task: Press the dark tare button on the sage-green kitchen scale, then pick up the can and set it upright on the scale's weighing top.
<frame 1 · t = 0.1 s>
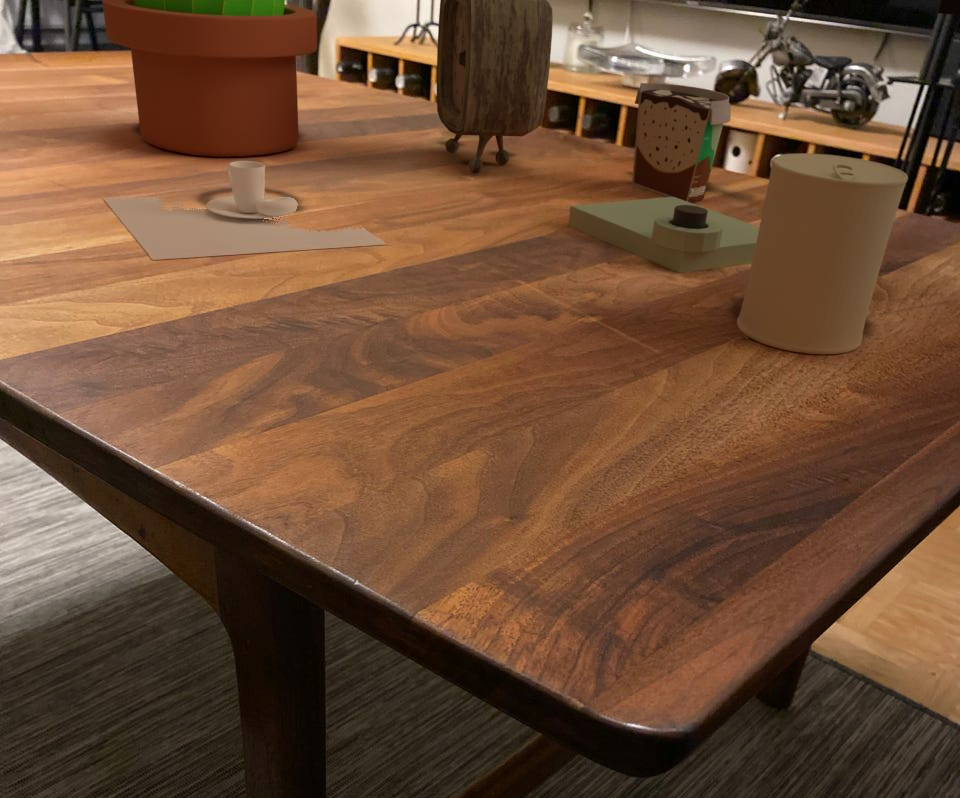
tare button: (689, 218, 88), point 4 cm above the table, slide at 0.1 cm
teacup and saucer: (240, 223, 92), on the table
tabletop clock: (485, 166, 119), on the table
potted cactus: (221, 144, 119), on the table
food container: (679, 194, 114), on the table
can: (797, 335, 77), on the table
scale: (674, 242, 96), on the table
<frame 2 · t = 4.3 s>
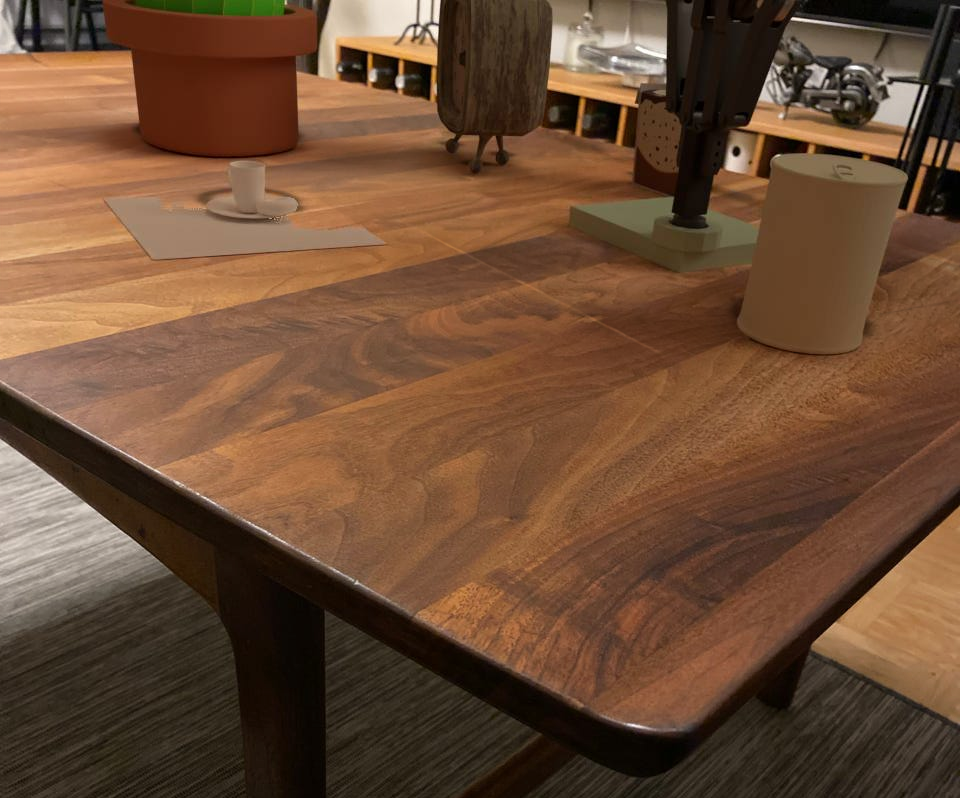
hand: (689, 213, 88), 4 cm above the table, tool pointing down, fingers closed
tare button: (688, 226, 88), point 3 cm above the table, slide at -0.5 cm, touching gripper
everything else where it was.
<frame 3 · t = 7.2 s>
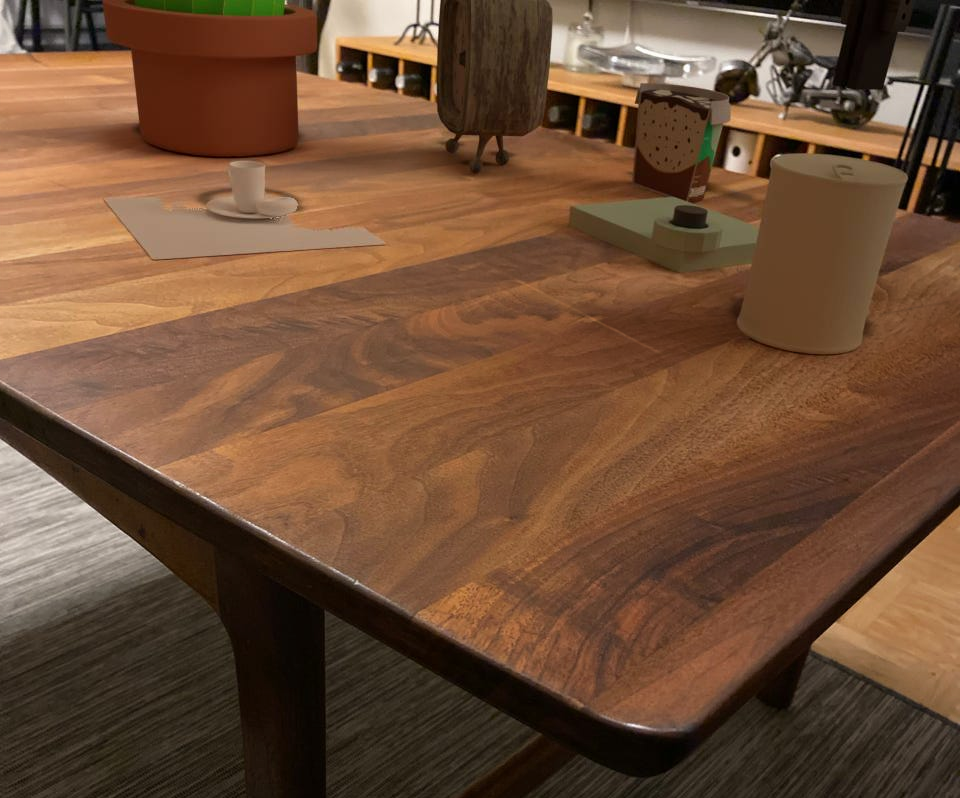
hand: (857, 86, 68), 16 cm above the table, tool pointing down, fingers closed
tare button: (689, 218, 88), point 4 cm above the table, slide at 0.1 cm
everything else where it was.
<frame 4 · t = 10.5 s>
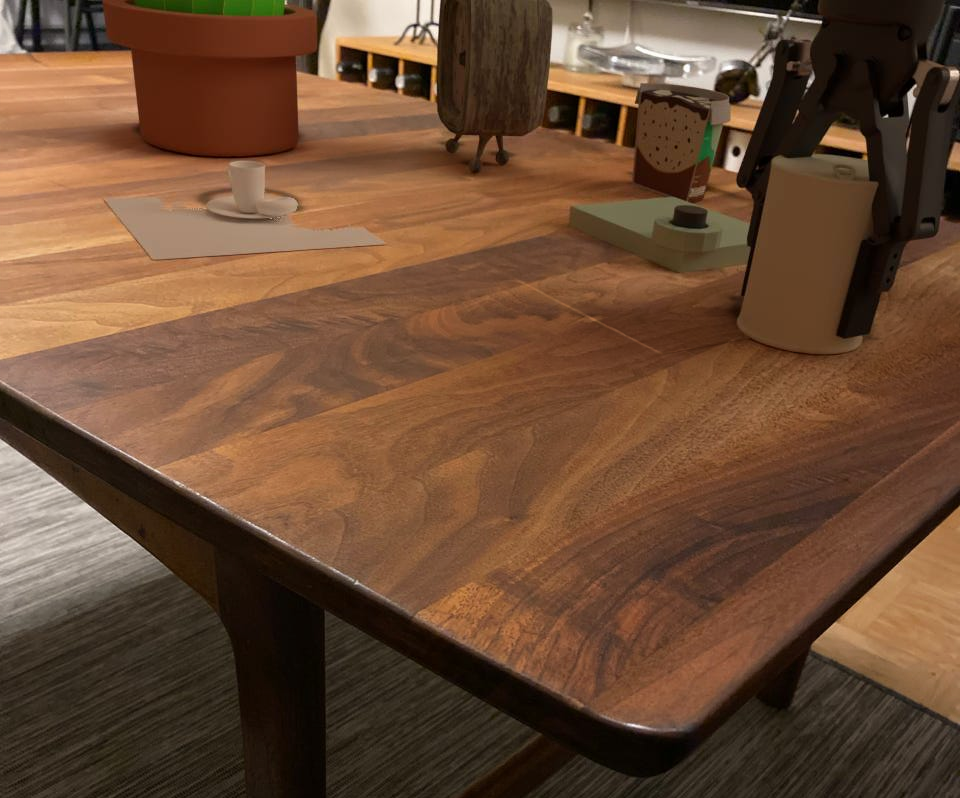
hand: (802, 313, 76), 1 cm above the table, tool pointing down, fingers closed on can, 9 cm apart
can: (797, 335, 77), on the table, touching gripper
everything else where it was.
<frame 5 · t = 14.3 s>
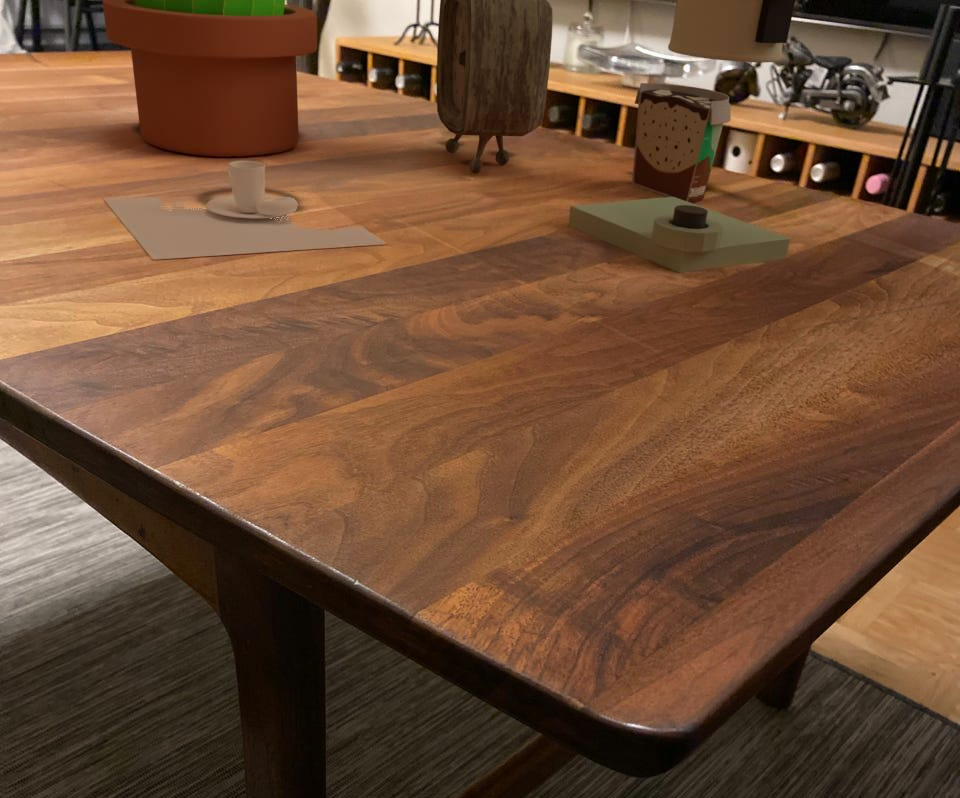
hand: (727, 34, 83), 17 cm above the table, tool pointing down, fingers closed on can, 9 cm apart
can: (723, 57, 84), point 16 cm above the table, touching gripper
everything else where it was.
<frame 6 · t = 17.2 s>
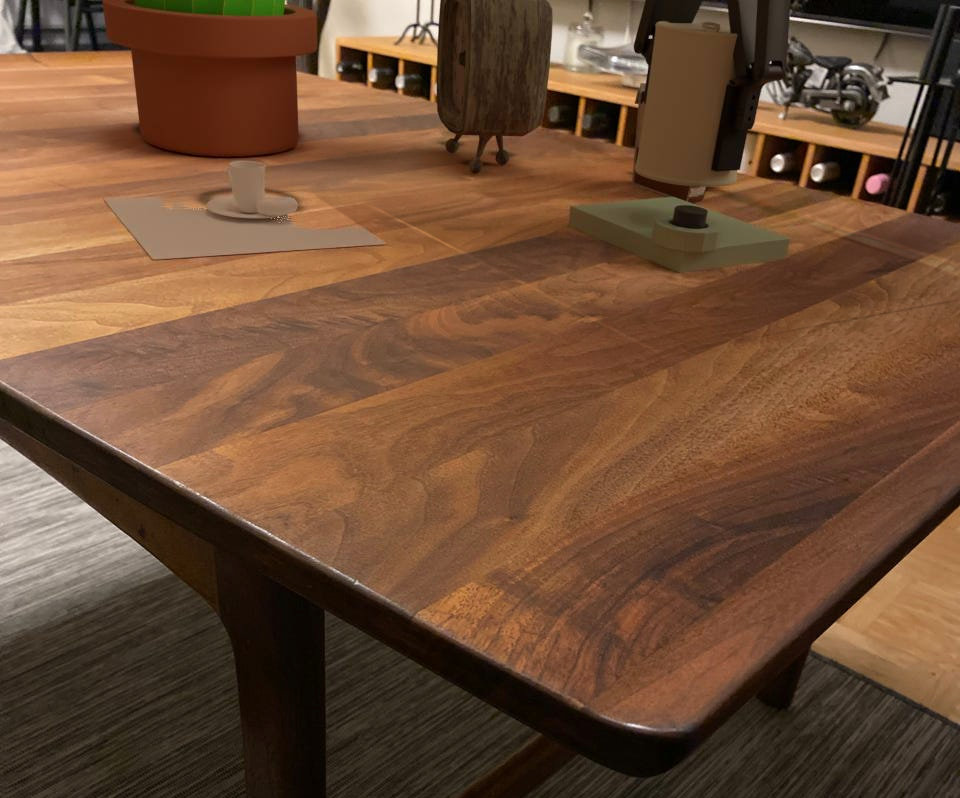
hand: (688, 158, 92), 7 cm above the table, tool pointing down, fingers closed on can, 9 cm apart
can: (684, 177, 93), point 6 cm above the table, touching gripper
everything else where it was.
when the fingers open (5 cm above the table, at t = 18.5 s): can stays where it is, resting on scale.
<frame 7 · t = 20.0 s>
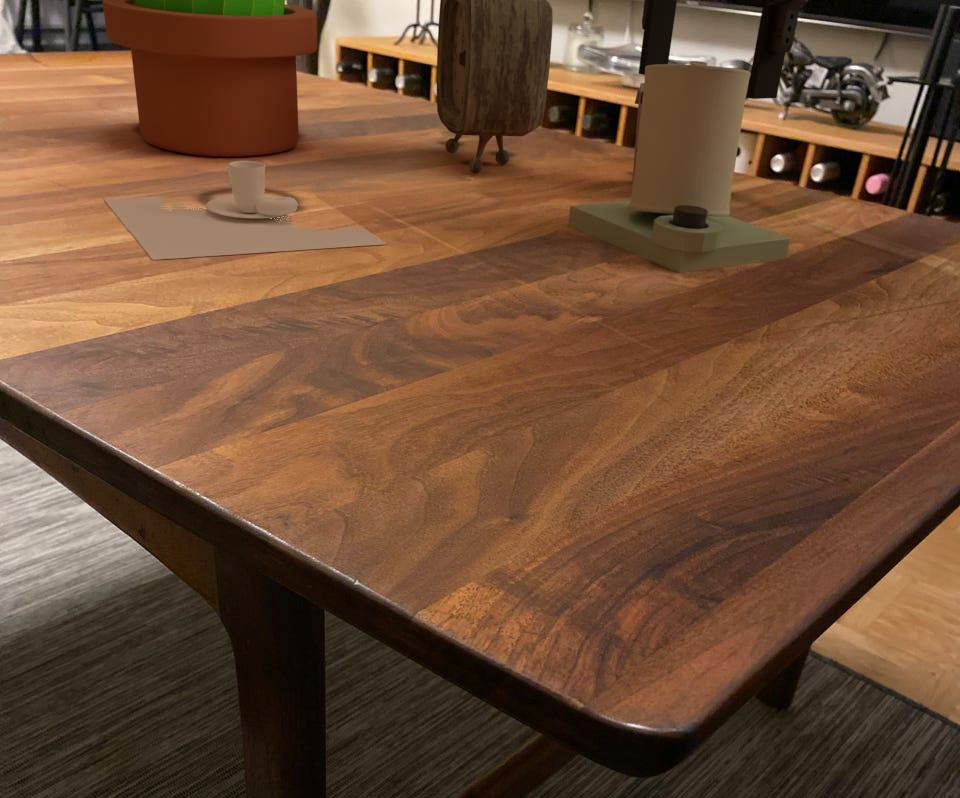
hand: (704, 85, 89), 13 cm above the table, tool pointing down, fingers open, 13 cm apart
can: (678, 214, 95), point 3 cm above the table, touching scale
everything else where it was.
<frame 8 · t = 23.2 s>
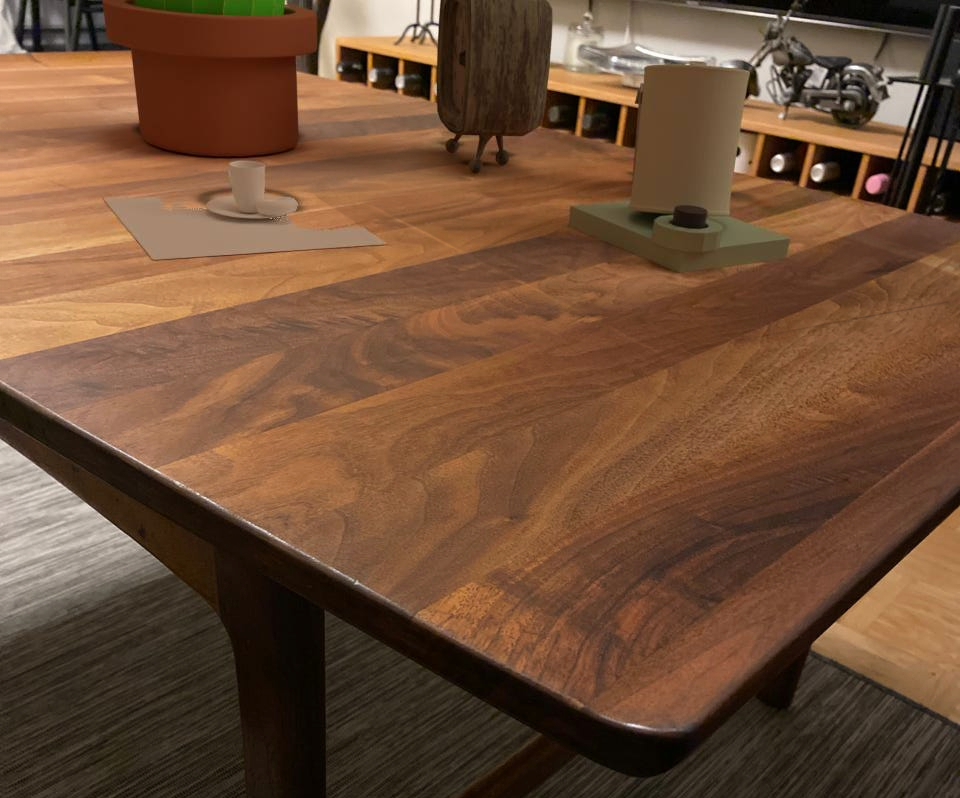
nothing on the table moved.
at the end: tare button pushed in 0.8 cm at the most during the clip, back to where it started at the end; can inside the target area on the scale (0.2 cm from its centre), point 2.5 cm above the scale's base; can touching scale; can tilted 10° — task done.
